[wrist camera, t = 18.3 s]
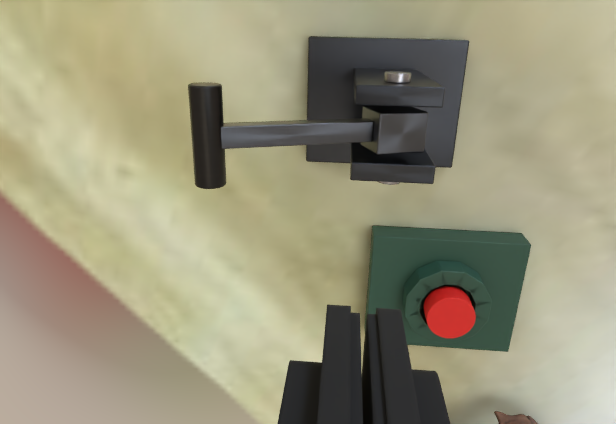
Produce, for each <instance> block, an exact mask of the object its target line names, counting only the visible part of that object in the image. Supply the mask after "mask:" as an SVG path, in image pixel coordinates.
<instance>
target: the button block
mask: <svg viewBox="0 0 616 424" xmlns="http://www.w3.org/2000/svg"><path fill="white" fill-rule="evenodd" d="M530 248H531V244H530V243H529V242H528V240H527V239H526V238H525V237H524V236H523V234H522V233H505V232H486V231H467V230H448V229H429V228H410V227H391V226H372V238H371V251H370V264H369V277H368V289H367V302H366V315H365V329H366V317H367V314H376V308H385V309H400V310H401V313H402V318H403V324H404V330H405V335H406V341H407V345H421V346H435V347H449V348H463V349H477V350H492V351H506V352H508V349H509V345H510V340H511V336H512V331H513V326H514V322H515V317H516V312H517V308H518V303H519V299H520V294H521V289H522V285H523V280H524V276H525V271H526V266H527V262H528V257H529V252H530ZM444 286H452V287H456V288H459V289H461V290H462V291H464V292H465V293H466V294H467V295H468V297H469V299H470V301H471V304H472V306H473V308H474V311H475V314H476V320H475V323H474V325H473V327H472V328H471V330H470V331H469V332H467V333H466V334H465V335H463V336H460V337H457V338H443V337H440V336H438V335H436V334H434V333H433V332H432V331H431V330H430V328H429V327H428V325H427V321H426V317H425V313H424V308H423V307H424V301H425V299H426V297H427V296H428V295H429V294H430V293H431V292H432V291H433V290H435V289H437V288H440V287H444Z"/></svg>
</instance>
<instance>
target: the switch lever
mask: <svg viewBox="0 0 616 424" xmlns="http://www.w3.org/2000/svg"><path fill="white" fill-rule="evenodd" d="M188 90H189V105H190V119H191V133H192V147H193V161H194V175H195V185H196V186H197V187H199V188H203V189H215V188H220V187H223V186H224V185H225V184H226V168H225V149H230V148H251V147H273V146H294V145H315V144H336V143H358V142H361V145H362V146H364V147H366V148H367V149H369V150H370V151H372V152H374V153H375V154H377V155H382V154H401V153H419V152H424V146H425V137H426V128H427V119H428V112H426V111H423V110H420V109H417V108H414V107H405V106H364V107H363V113H362V118H361V119H330V120H299V121H268V122H238V123H223V102H222V85H221V84H218V83H192V84H189V85H188Z"/></svg>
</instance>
